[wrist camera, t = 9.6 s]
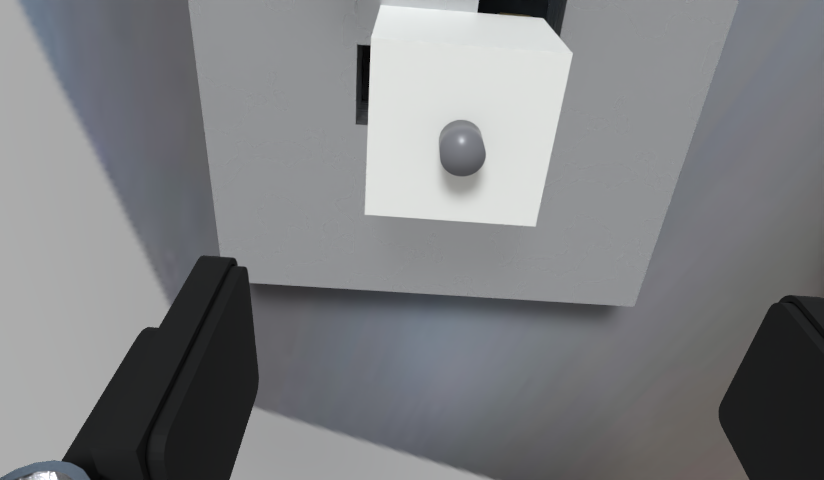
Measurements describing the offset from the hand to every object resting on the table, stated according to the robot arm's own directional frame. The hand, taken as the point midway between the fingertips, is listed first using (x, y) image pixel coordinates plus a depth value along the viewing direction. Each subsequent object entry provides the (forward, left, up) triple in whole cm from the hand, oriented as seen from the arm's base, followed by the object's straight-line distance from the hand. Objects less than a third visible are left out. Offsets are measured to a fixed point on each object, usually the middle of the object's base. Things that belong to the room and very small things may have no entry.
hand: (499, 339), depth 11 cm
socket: (0, 0, -18) cm, 18 cm away
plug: (0, 0, -16) cm, 16 cm away
